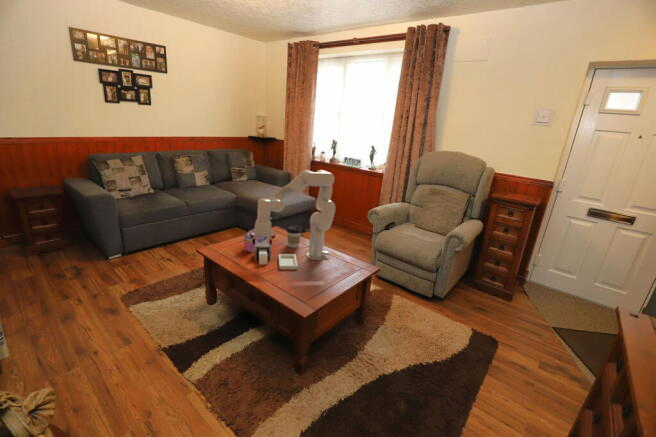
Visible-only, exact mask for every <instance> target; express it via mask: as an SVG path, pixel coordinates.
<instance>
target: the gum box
mask: <svg viewBox="0 0 656 437" xmlns="http://www.w3.org/2000/svg"><path fill="white" fill-rule="evenodd" d="M248 232H249V231H247V232H245V233H243V239H244V240H243V250H244V251H247V252H255V245H254V244H253V239H252V238H251V237H250V235H249V233H248ZM251 234H252V235H253V236H254V235H255V234H254V232H252V233H251ZM255 243H269V237H256V238H255Z"/></svg>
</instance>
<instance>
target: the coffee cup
mask: <svg viewBox="0 0 656 437" xmlns="http://www.w3.org/2000/svg"><path fill="white" fill-rule="evenodd" d="M302 232H303V229H302V228H301V227H300V226H298V225H290V226H287V229H286V233H287V246H288V247H289V248H294V247H295V248H298V247H299V245H300V240H301V235H302ZM295 248H294V249H295Z"/></svg>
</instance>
